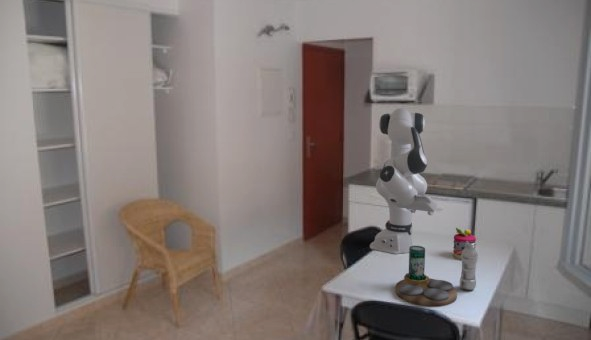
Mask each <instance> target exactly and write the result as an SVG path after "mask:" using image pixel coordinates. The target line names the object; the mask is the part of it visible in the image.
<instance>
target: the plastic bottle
mask: <svg viewBox="0 0 591 340" xmlns="http://www.w3.org/2000/svg"><path fill="white" fill-rule="evenodd" d="M475 244H476V242H475V243H474V242H472V241H466V242H465V247H466V248H465V249H464V250H463V251H462V254H461V258H462V260H461V273H460V278H459V286H460V288H461V289H463V290H466V291H473V290H474V289H476V287H477V279H476V268H477V261H478V257H479V256H478V252H477V251H476V245H475ZM474 248H475V249H474Z"/></svg>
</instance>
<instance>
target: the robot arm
mask: <svg viewBox="0 0 591 340" xmlns="http://www.w3.org/2000/svg"><path fill="white" fill-rule="evenodd" d="M378 127H379V130H380V132H381V133H382V134H383V135H386V136H387V135H388V136H387V137H388V139H389V140H390V141H391V143H390V158H389V159H387V160H385V162H384V165H383V167H382V169H381V170H380V172H379V178H378V179H377V181H376V183H375V188H376V189H375V190H376V193H378V195H380V196H381V197H382V198H383V199H384V200H385V202H386V203H387V205H388V210H389V219H388V220H387V221H386V222H385V224H384V225H385V228H384V229H382V230H381V231H380V232H378V233H377V234H376V235H375V236H374V241H372V242H371V243H370V244H369V248H370V250H373V251H374V250H376V251H378V252H379V251H380V252H384V253H388V254H394V255H398V254H399V255H400V254H406V253H407V254H409V248H410V246H414V245H413V241H412V234H413V224H412V214H415V213H416V211H420V212H421V211H422V212H423V211H424V212H427V215H428V216H433V214H434V212H435V211H436V210H437V208H438V207H437V206H438V205H437V203H436V202H435V201H434V199H432V198H431V197H430V196H427V195H425V194H426V192H427V190H428V183H427V180H426V179H425V177H423V176H422V175H421V174H422V173H424V171H425V170H426V168H427V167H428V161H427V157H426V154H425V152H424V151H425V150H424V147H423V143H422V139H421V136H420V135H421V134H422V133H423V132H424V129H425V127H426V119H425V117H424V115H423V114H422V113H420V112H415V113H414V112H410V111H409V109H406V108H402V107H401V108H400V107H399V108H396V109H394V110H393V111H392V113H385V114H382V115H381V116H380V118H379V122H378ZM420 173H421V174H420Z"/></svg>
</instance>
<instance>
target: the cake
mask: <svg viewBox="0 0 591 340" xmlns="http://www.w3.org/2000/svg"><path fill="white" fill-rule="evenodd" d="M455 230H456V234H454V235H453V250H452V252H453V257H452V258H453V259H456V260H459V261H462V258H461V254H462V251H463V250H464V249H465V248H466V247H465V242H466V241H472V242H474V243H475V246H476V244H477V243H476V240H477V238H476V236H475V235H473V234H472V231H471V229H467V228H466V229H465V230H464V231H462V229H460V228H459V227H455ZM474 249H475V250H476V247H475V248H474Z"/></svg>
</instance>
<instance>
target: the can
mask: <svg viewBox="0 0 591 340" xmlns="http://www.w3.org/2000/svg"><path fill="white" fill-rule="evenodd" d="M425 264H426V247H424V246H421V245H413V246H410V248H409V252H408V273H409V276H408V278H409V279H411V280H417V281H420V280H424V274H425Z"/></svg>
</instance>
